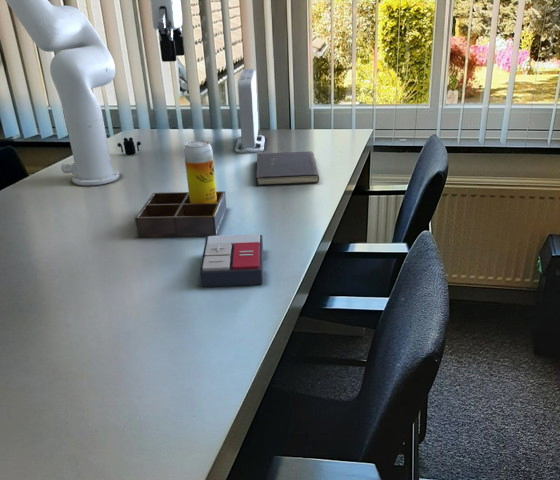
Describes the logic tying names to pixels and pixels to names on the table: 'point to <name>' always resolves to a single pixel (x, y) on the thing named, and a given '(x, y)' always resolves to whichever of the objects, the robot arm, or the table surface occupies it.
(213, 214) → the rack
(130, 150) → the wireless earbuds
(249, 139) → the network device
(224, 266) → the calculator
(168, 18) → the robot arm
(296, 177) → the hardcover book
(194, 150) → the beer can
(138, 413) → the table surface
